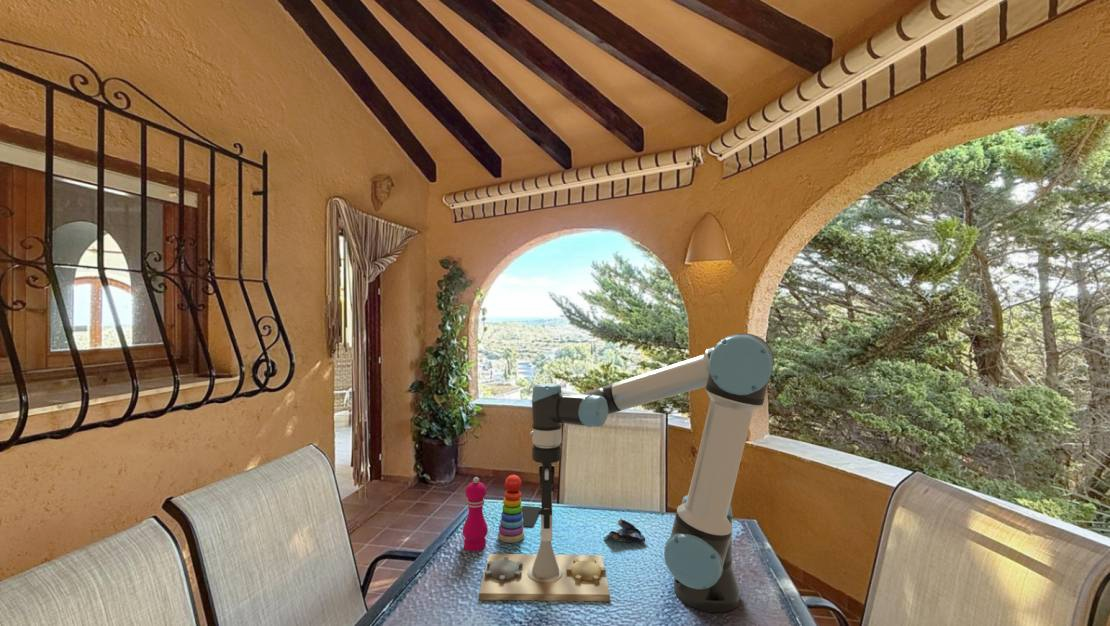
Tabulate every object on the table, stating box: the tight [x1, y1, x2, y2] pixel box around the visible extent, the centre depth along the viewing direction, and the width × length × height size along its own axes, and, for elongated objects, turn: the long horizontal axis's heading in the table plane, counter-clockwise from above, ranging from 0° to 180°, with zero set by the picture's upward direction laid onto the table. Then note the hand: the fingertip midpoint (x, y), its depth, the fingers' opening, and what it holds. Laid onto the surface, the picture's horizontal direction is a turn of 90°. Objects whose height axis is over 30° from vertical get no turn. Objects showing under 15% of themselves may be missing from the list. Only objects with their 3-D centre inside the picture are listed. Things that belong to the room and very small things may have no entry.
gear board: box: [478, 553, 611, 602], centre depth 116 cm, size 31×18×3 cm, turn 90°
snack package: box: [603, 518, 646, 543], centre depth 138 cm, size 12×6×12 cm
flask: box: [532, 530, 559, 578], centre depth 116 cm, size 7×7×10 cm
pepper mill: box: [462, 476, 489, 552], centre depth 133 cm, size 7×7×20 cm
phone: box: [522, 505, 542, 529], centre depth 153 cm, size 7×1×15 cm
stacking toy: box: [497, 474, 525, 544], centre depth 138 cm, size 8×8×19 cm
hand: (547, 527), depth 116 cm, fingers open, 13 cm apart
